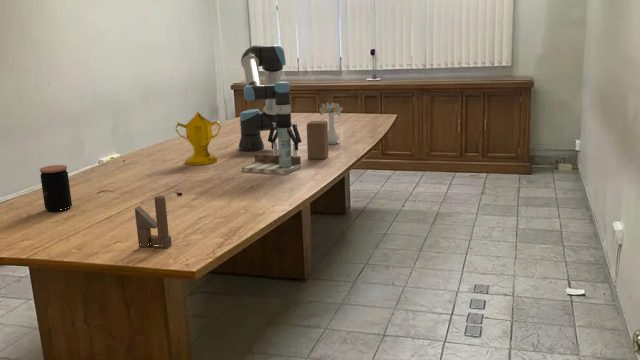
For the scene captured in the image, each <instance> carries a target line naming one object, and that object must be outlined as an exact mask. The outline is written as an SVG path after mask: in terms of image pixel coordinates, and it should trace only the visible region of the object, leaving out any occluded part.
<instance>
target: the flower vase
mask: <svg viewBox="0 0 640 360" xmlns="http://www.w3.org/2000/svg"><path fill="white" fill-rule="evenodd" d="M318 110H319V112H320V113H319V117H320V116H323V115H325V114H326V113H327V116H328V145H334V144H337V143H338V142H339V140H340V135H339V133H338V132H337V131H336V128H335V115H336V114H337V115H338V117H339V116H341V114H342V111H343V110H344V108H343V107H341V106H340V103H337V102H336V103H335V102H331V103H329V102H326V103H325V104H324V103H322V104H321V107H320V108H319V109H318Z"/></svg>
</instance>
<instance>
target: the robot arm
mask: <svg viewBox="0 0 640 360" xmlns="http://www.w3.org/2000/svg"><path fill="white" fill-rule="evenodd" d="M240 63H241V66H242V68H243V70H244V75H245V82H246V83H245V84H246V85H245V86H243V95H244V100H246V101H262V100H263V101H264V100H265V106H264V107H263V109H262V111H260V109H259V108H255V109H254V108H252V109H248V110H244V111H241V112H240V113H239V125H240V139H239V143H238V150H239V151H241V152H256V151H261V150H264V149H265V144H264V141H263V139H262V136H261V135H262V134H261V132H264V131H265V132H266V131H269V134H268V138H267V142H268V143H269V142H270V144H271V149H272V152H273V154H272V155H274V156H276V155H278V142H277V140H278V130H277V128H288V129H289V128H290V130H288V129H287V133H288V134H289V136H290V137H291V142H293V144H292V150H293V151H292V153H293V154H292V156H293V157H296V156H298V150H299V144H301V143H302V138H301V135H300V133H299V129H298V123H292V113H291V111H292V109H291V86H290V82H289V81H281V72H282V71H283V69H284V67H285V66H286V65H287V64H286V57H285V51H284V46H283V45H282V44H257V45H256V44H255V45H252V46H250V47H248V48H247V49H246V50H244V53H242V56H241V58H240ZM283 66H284V67H283ZM259 67H262V70H263V71H264V81H265V82H264V84H262V81H261V76H260V75H261V74H260V72H259ZM274 132H275V133H274Z"/></svg>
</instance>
